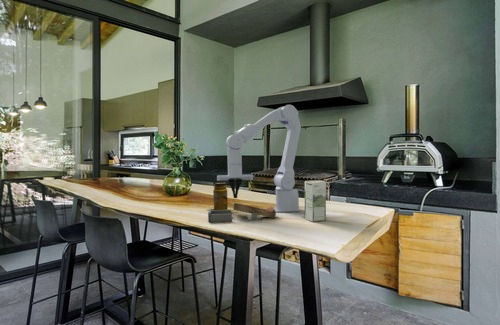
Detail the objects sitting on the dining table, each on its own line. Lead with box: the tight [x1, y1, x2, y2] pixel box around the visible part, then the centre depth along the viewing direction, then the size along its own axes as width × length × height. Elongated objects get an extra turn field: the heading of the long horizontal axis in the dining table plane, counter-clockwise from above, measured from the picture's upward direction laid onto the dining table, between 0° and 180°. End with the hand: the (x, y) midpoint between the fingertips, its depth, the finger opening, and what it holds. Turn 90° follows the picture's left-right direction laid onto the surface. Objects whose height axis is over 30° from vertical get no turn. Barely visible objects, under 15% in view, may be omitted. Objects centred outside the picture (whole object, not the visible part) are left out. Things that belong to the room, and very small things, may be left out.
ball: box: [265, 205, 275, 213], centre depth 122 cm, size 3×3×3 cm
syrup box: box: [304, 179, 327, 223], centre depth 116 cm, size 6×6×14 cm
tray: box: [207, 208, 232, 223], centre depth 121 cm, size 8×8×4 cm
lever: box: [232, 202, 277, 219], centre depth 125 cm, size 16×12×2 cm
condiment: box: [206, 182, 230, 212], centre depth 138 cm, size 7×8×12 cm
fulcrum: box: [246, 212, 263, 221], centre depth 122 cm, size 5×8×3 cm, turn 4°
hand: (235, 197), depth 129 cm, fingers closed
